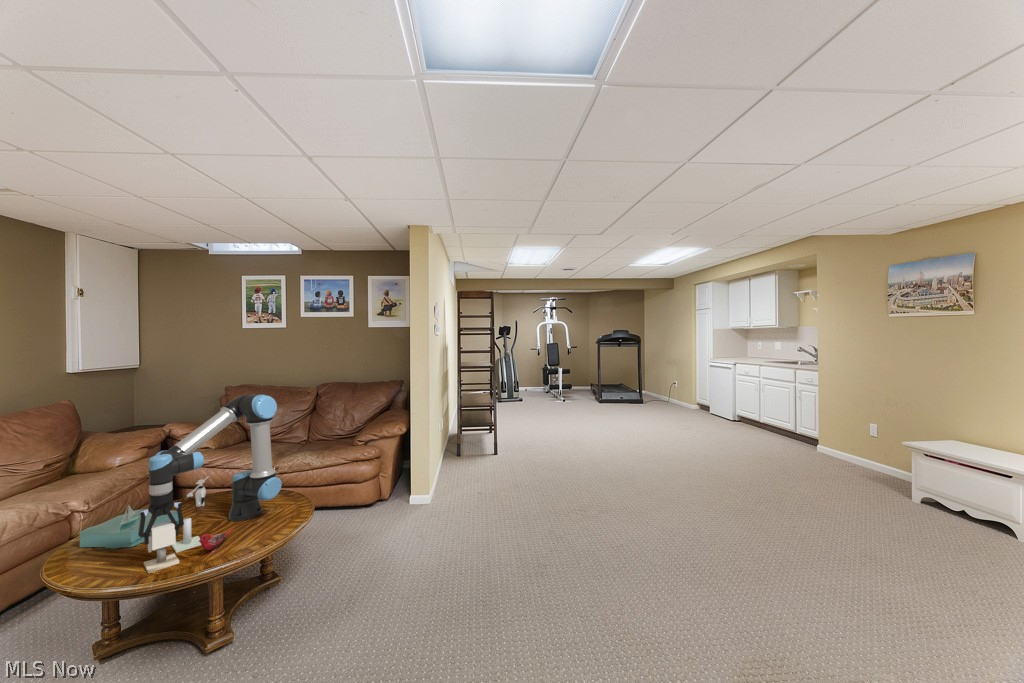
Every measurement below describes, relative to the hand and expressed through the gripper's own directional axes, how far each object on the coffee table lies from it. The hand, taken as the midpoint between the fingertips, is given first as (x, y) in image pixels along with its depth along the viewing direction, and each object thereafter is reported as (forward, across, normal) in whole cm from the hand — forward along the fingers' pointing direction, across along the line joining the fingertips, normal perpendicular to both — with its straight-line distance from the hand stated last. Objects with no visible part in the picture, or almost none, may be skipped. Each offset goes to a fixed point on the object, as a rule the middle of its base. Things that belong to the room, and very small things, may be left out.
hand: (162, 547), depth 177 cm
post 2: (+7, -11, -12) cm, 18 cm away
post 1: (+7, 0, 0) cm, 7 cm away
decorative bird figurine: (+7, -18, +4) cm, 20 cm away
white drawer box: (-1, 0, 0) cm, 1 cm away
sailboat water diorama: (+8, +4, -46) cm, 46 cm away
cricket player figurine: (+8, -26, -64) cm, 70 cm away
